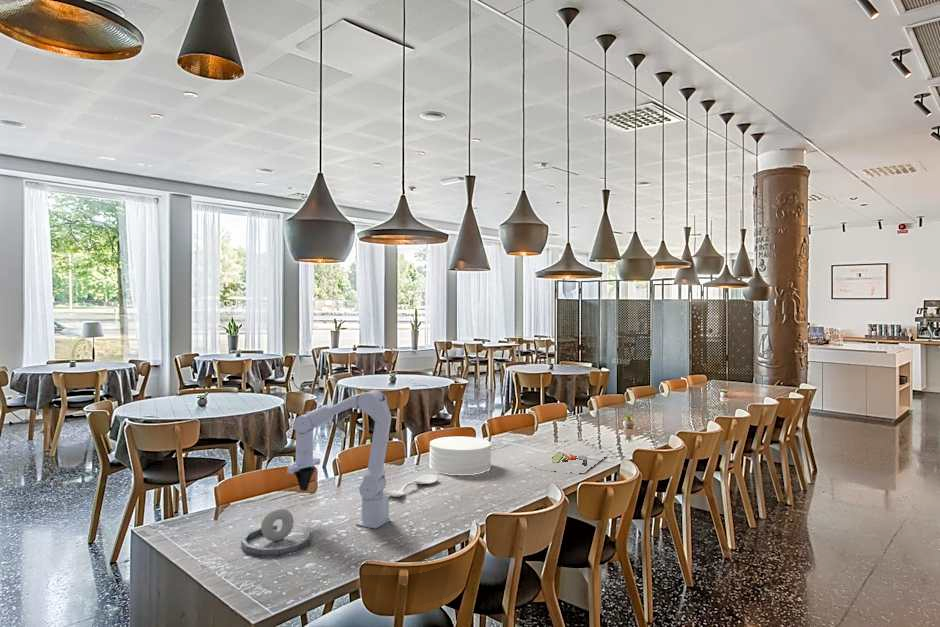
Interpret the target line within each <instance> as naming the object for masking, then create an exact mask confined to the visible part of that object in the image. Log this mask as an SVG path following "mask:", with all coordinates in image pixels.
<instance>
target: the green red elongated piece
mask: <svg viewBox="0 0 940 627" xmlns="http://www.w3.org/2000/svg"><path fill="white" fill-rule="evenodd" d="M564 455H565V454H564V453H561V452H558V453H556V454H555V456H553V457H552V462H553V463H559V462H560V460H561V459H562V458H563V456H564ZM570 456H571V457H569V456H567V455H565V457H566V458H564V459H563V460H562V462H568V460H576V459H579V460H583V463H582V465H584V466H587V457H586V456H583V455H582V456H581V455H580V456H579V457H578V458H576V457H577V456H573V455H571V454H570ZM567 458H568V459H567ZM566 459H567V460H566Z"/></svg>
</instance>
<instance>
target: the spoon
mask: <svg viewBox="0 0 940 627" xmlns="http://www.w3.org/2000/svg"><path fill="white" fill-rule="evenodd" d="M438 480H439V476H437V475H436V474H434V473H433V474H432V473H431V474H429V473H428V474H424V475H421V476H418V477H417V478H415V479H414V480H411V481H408V482H407V483H405V484H404V485H403V486H402V487H401V488H400V489H397V490H388V491H387V490H383V493H384V494H385V495H386V496H390V497H396V498H399V497H402V496H404V495H405V490H406V489H407V488H408V487H409V486H413V485H416V484H419V485H423V484H428V485H432V484H434V483H436V482H437V481H438Z"/></svg>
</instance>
